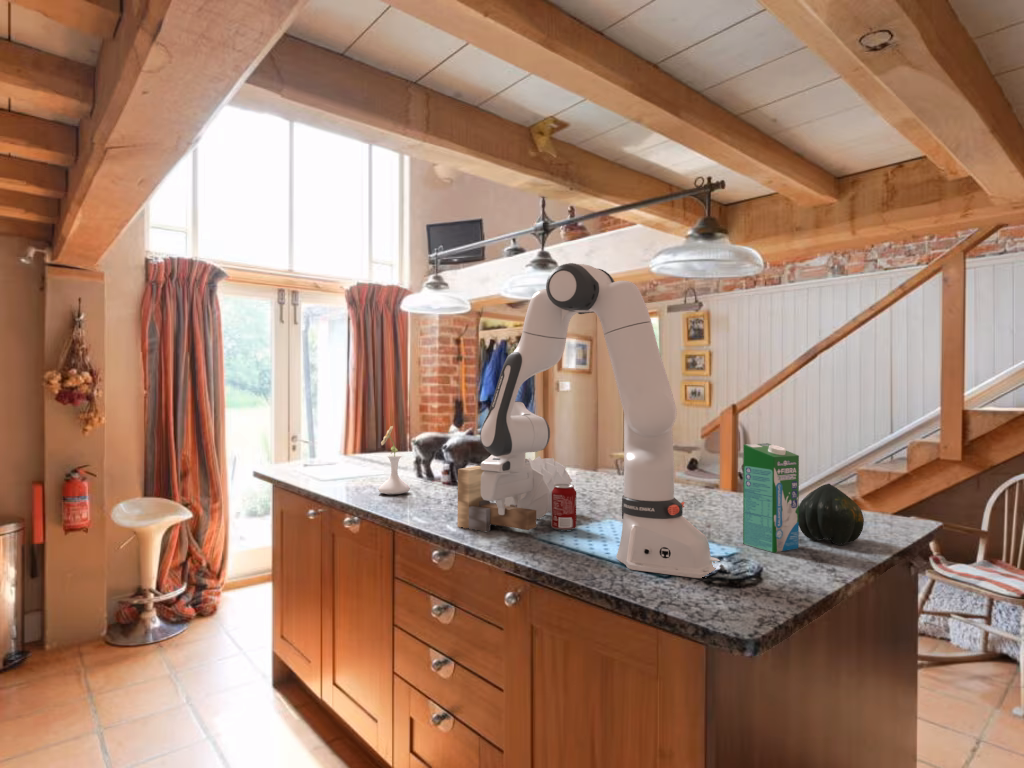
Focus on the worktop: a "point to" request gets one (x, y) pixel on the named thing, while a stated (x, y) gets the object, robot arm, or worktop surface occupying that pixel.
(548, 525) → the worktop surface
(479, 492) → the post
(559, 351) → the robot arm
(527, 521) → the wooden block
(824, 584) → the worktop surface
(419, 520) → the worktop surface
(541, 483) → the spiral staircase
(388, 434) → the flower in vase
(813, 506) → the squash
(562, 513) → the soda can
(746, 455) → the milk carton
